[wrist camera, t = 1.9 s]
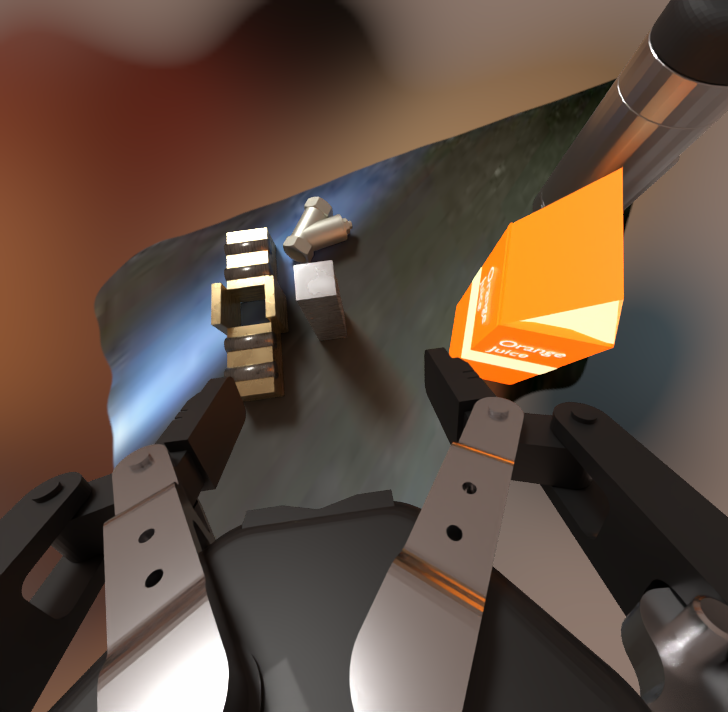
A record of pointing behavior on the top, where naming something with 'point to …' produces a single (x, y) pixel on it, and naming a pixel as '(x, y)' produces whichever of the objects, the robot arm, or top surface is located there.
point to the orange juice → (547, 288)
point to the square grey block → (320, 299)
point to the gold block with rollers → (253, 342)
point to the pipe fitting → (315, 231)
